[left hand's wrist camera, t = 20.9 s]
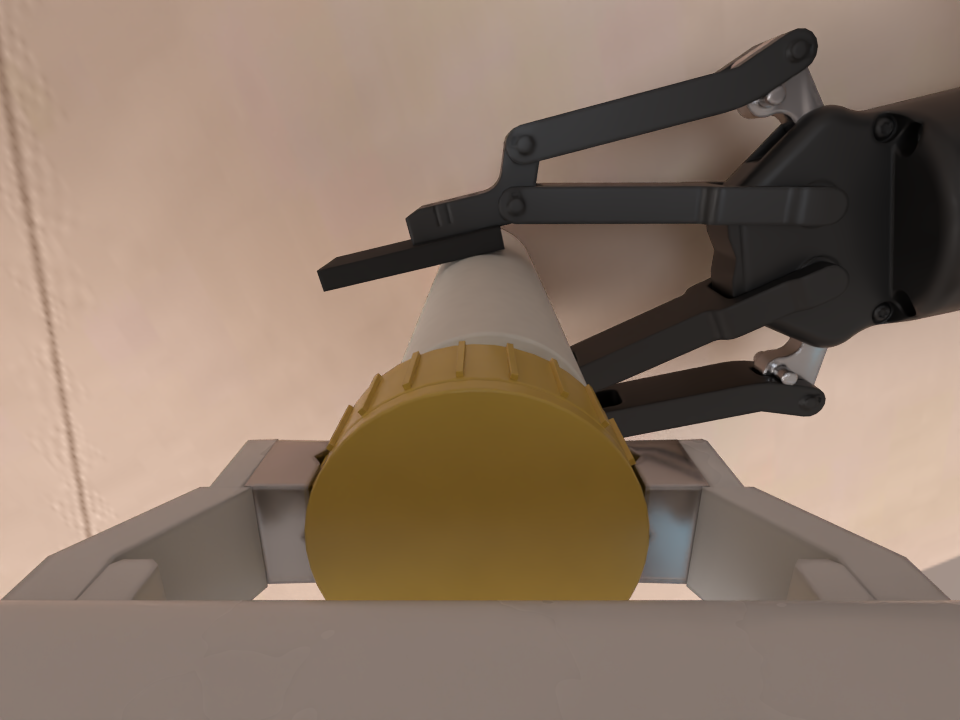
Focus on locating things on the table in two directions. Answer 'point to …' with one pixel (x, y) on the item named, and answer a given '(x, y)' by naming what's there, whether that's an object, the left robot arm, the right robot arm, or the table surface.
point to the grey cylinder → (492, 308)
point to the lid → (477, 486)
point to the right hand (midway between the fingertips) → (353, 338)
